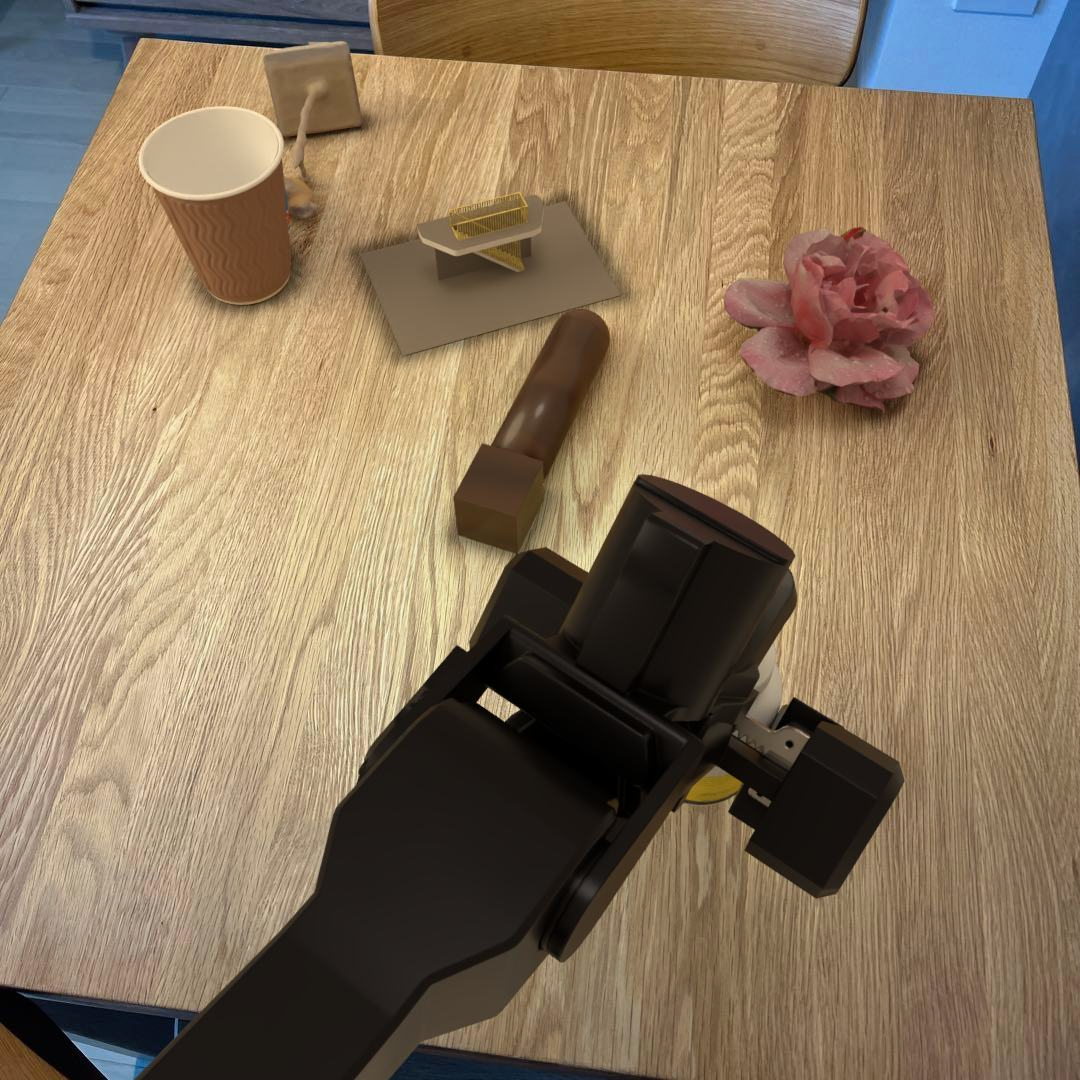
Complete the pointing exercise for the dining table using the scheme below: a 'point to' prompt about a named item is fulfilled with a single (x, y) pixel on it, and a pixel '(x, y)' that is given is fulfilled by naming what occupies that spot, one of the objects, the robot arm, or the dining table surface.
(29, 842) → the dining table surface
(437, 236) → the platform
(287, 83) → the decorative sculpture
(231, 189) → the coffee cup
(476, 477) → the walnut leg
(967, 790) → the dining table surface
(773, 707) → the pill bottle
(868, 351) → the flower
